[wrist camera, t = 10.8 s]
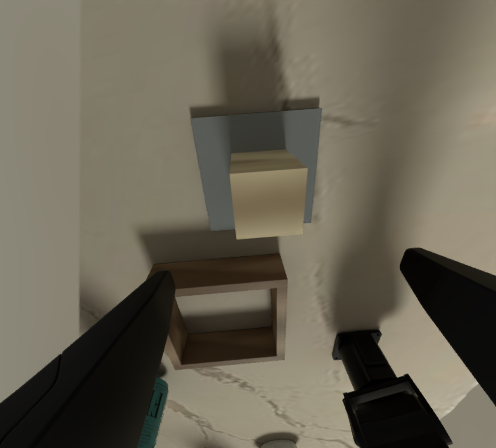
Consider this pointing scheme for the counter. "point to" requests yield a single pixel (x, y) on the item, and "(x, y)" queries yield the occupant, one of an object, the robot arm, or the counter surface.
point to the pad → (252, 140)
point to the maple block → (267, 193)
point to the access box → (220, 281)
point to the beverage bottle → (154, 414)
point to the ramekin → (279, 444)
